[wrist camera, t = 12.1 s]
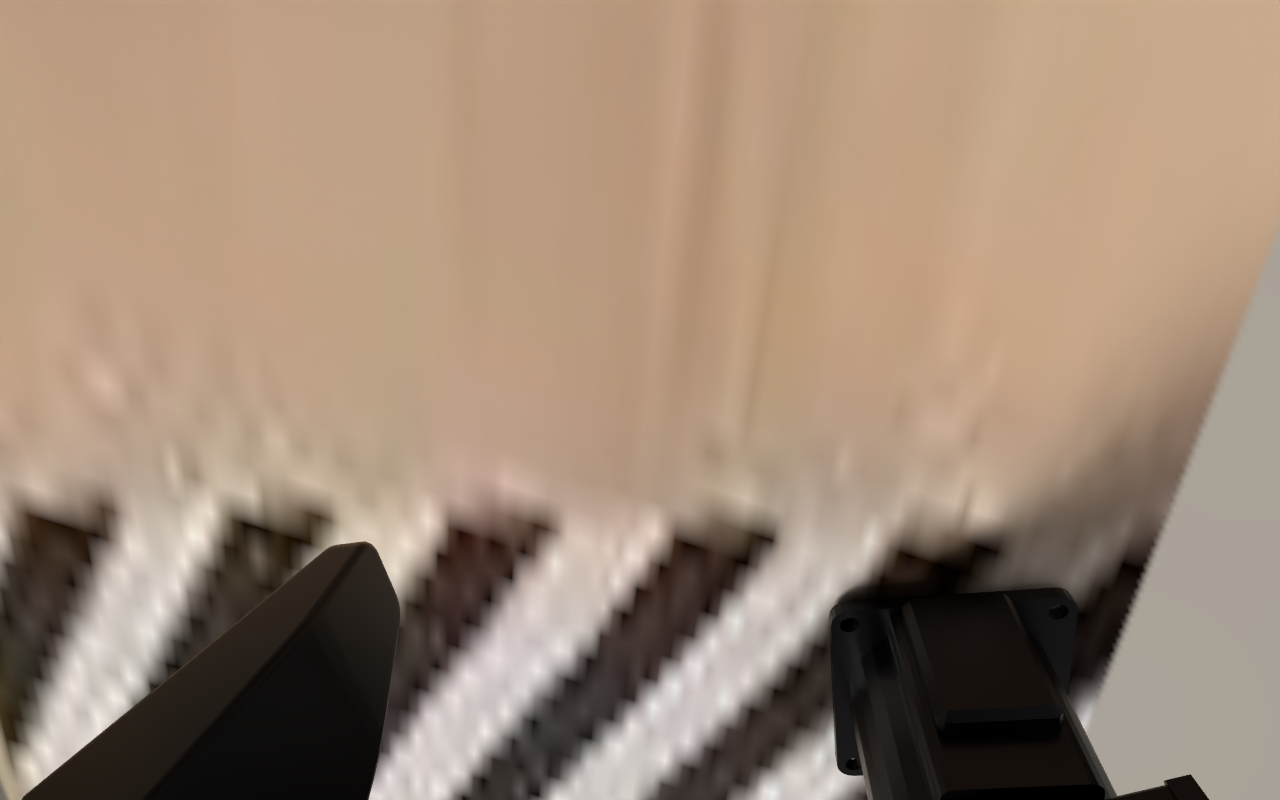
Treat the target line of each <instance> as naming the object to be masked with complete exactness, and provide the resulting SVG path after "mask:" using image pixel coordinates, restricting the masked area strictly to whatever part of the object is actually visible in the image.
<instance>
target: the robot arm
mask: <svg viewBox="0 0 1280 800" xmlns="http://www.w3.org/2000/svg"><path fill="white" fill-rule="evenodd" d="M1056 605H1061V606H1060V607H1058V608H1056V609H1051V608H1052V607H1053V606H1056ZM1077 616H1078V607H1077V604H1076V602H1075V601H1074V599H1073V597H1072V595H1071V594H1070V593H1069V592H1068V591H1067V590H1065V589H1062V588H1042V589H1027V590H1012V591H996V592H981V593H966V594H951V595H936V596H921V597H906V598H890V599H875V600H860V601H846V602H842V603H839V604H837V605H835V606H834V607H833V608H832V609H831V611H830V614H829V629H830V651H831V672H832V693H833V714H834V736H835V755H836V761H837V766H838V769H839V770H840V771H841V772H842V773H844V774H846V775H852V776H859V775H863V776H864V781H865V786H866V791H867V796H868V800H1209V799H1208V798H1207V796H1206V795H1205V793H1204V792H1203V791H1202V789H1201V788H1200V787H1199V785H1198V784H1197V782H1196V781H1195V780H1194V778H1193V777H1192V776H1191V775H1186V776H1182V777H1178V778H1173V779H1169V780H1165V781H1164V783H1165V785H1164V786H1160V787H1155V788H1151V789H1147V790H1143V791H1138V792H1134V793H1129V794H1125V795H1121V796H1117V795H1116V793H1115V791H1114V789H1113V787H1112V785H1111V783H1110V781H1109V779H1108V777H1107V775H1106V773H1105V771H1104V769H1103V767H1102V765H1101V763H1100V761H1099V759H1098V757H1097V755H1096V753H1095V751H1094V748H1093V746H1092V745H1091V743H1090V740H1089V738H1088V736H1087V734H1086V732H1085V730H1084V728H1083V726H1082V724H1081V722H1080V720H1079V718H1078V716H1077V714H1076V712H1075V710H1074V708H1073V706H1072V704H1071V702H1070V700H1069V698H1068V690H1069V682H1070V674H1071V666H1072V657H1073V649H1074V641H1075V632H1076V624H1077ZM847 618H853V619H854V620H853V621H851V622H842V621H843V620H844V619H847ZM399 625H400V606H399V602H398V598H397V595H396V593H395V591H394V588H393V586H392V584H391V582H390V579H389V577H388V575H387V572H386V570H385V568H384V565H383V563H382V561H381V558H380V556H379V554H378V552H377V550H376V548H375V547H374V546H373V545H372V544H370V543H368V542H356V543H348V544H340V545H334V546H331V547H329V548H328V549H326V550H325V551H324V552H322V553H321V554H320V555H319V556H318V557H316V558H315V559H314V560H313V561H311V562H310V563H309V564H308V565H307V566H305V567H304V568H303V569H302V570H300V571H299V572H298V573H297V574H295V575H294V576H293V577H292V578H291V579H289V580H288V581H287V582H286V583H284V584H283V585H282V586H281V587H280V588H278V589H277V590H276V591H275V592H273V593H272V594H271V595H270V596H269V597H267V598H266V599H265V600H264V601H262V602H261V603H260V604H259V605H257V606H256V607H255V608H254V609H253V610H251V611H250V612H249V613H248V614H246V615H245V616H244V617H243V618H242V619H240V620H239V621H238V622H237V623H235V624H234V625H233V626H232V627H231V628H229V629H228V630H227V631H226V632H224V633H223V634H222V635H221V636H219V637H218V638H217V639H216V640H215V641H213V642H212V643H211V644H210V645H208V646H207V647H206V648H205V649H204V650H202V651H201V652H200V653H199V654H197V655H196V656H195V657H194V658H193V659H191V660H190V661H189V662H188V663H186V664H185V665H184V666H183V667H181V668H180V669H179V670H178V671H177V672H175V673H174V674H173V675H172V676H170V677H169V678H168V679H167V680H166V681H164V682H163V683H162V684H161V685H159V686H158V687H157V688H156V689H155V690H153V691H152V692H151V693H150V694H148V695H147V696H146V697H145V698H143V699H142V700H141V701H140V702H139V703H137V704H136V705H135V706H134V707H132V708H131V709H130V710H129V711H128V712H126V713H125V714H124V715H123V716H121V717H120V718H119V719H118V720H117V721H115V722H114V723H113V724H112V725H110V726H109V727H108V728H107V729H105V730H104V731H103V732H102V733H101V734H99V735H98V736H97V737H96V738H94V739H93V740H92V741H91V742H90V743H88V744H87V745H86V746H85V747H83V748H82V749H81V750H80V751H79V752H77V753H76V754H75V755H74V756H72V757H71V758H70V759H69V760H67V761H66V762H65V763H64V764H63V765H61V766H60V767H59V768H58V769H56V770H55V771H54V772H53V773H52V774H50V775H49V776H48V777H47V778H45V779H44V780H43V781H42V782H41V783H39V784H38V785H37V786H36V787H34V788H33V789H32V790H31V791H29V792H28V793H27V794H26V795H25V796H24V797H23V798H22V800H368V799H369V795H370V791H371V788H372V784H373V780H374V776H375V772H376V767H377V763H378V759H379V754H380V749H381V743H382V738H383V732H384V725H385V719H386V712H387V705H388V699H389V692H390V685H391V679H392V672H393V665H394V659H395V652H396V645H397V639H398V632H399ZM853 758H855V759H853Z"/></svg>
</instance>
